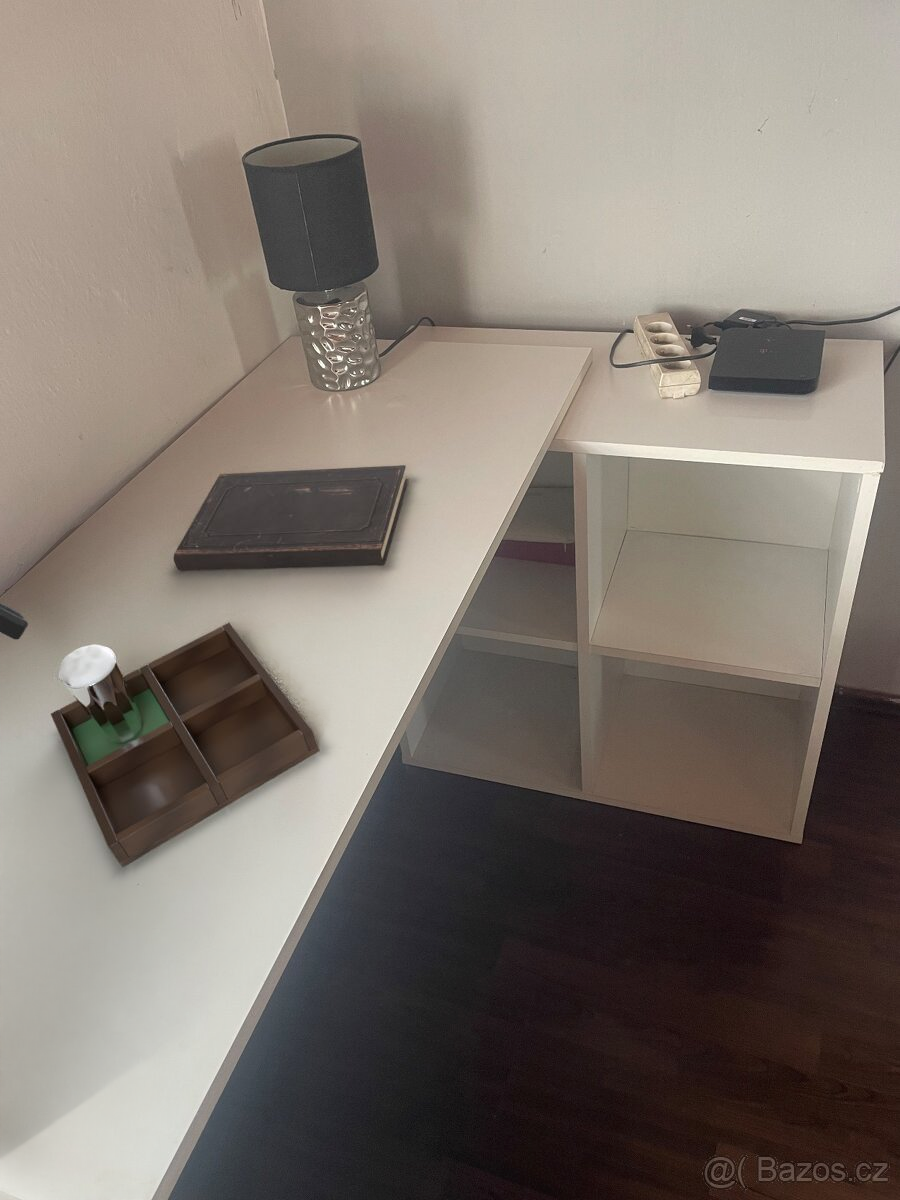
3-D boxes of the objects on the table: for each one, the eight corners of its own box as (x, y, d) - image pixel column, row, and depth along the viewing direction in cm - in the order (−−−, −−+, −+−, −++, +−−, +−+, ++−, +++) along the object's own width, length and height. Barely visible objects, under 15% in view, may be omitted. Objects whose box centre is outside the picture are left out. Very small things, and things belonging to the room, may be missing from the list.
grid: (122, 867, 66) (108, 847, 65) (63, 733, 78) (50, 713, 76) (319, 751, 73) (312, 729, 71) (238, 642, 84) (229, 621, 82)
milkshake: (81, 750, 75) (30, 670, 69) (120, 705, 79) (74, 625, 72) (122, 762, 73) (73, 681, 67) (160, 715, 77) (117, 634, 70)
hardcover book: (225, 489, 106) (219, 473, 104) (408, 481, 102) (405, 464, 100) (178, 573, 94) (171, 557, 92) (384, 568, 90) (379, 551, 88)
